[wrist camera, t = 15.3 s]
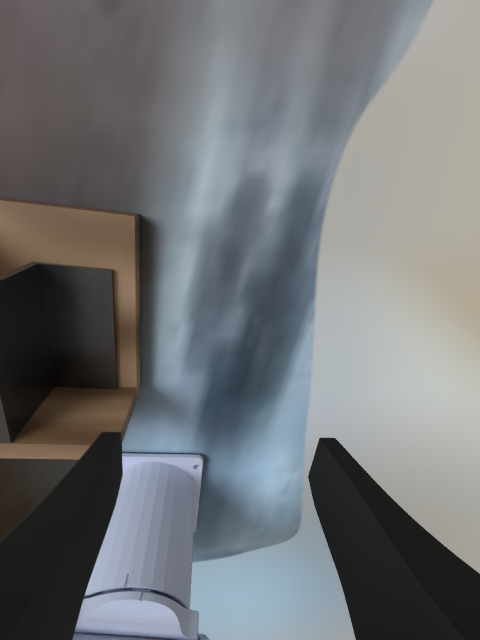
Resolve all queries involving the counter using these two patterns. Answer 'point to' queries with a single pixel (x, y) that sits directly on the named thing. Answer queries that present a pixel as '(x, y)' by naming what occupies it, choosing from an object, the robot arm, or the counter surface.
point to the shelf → (124, 258)
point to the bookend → (53, 336)
